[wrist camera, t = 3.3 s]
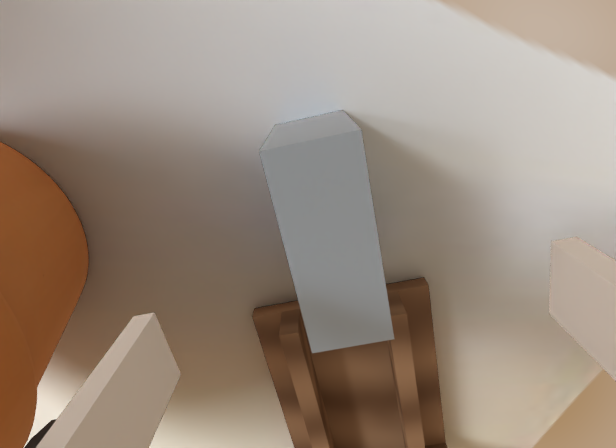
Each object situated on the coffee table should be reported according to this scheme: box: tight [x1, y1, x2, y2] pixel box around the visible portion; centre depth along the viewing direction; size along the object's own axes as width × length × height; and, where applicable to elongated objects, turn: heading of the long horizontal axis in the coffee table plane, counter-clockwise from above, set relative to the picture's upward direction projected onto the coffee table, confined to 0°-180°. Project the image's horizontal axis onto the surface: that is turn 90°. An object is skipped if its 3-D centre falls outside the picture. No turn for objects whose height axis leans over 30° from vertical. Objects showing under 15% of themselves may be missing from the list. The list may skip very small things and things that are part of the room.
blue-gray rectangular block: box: [259, 110, 394, 353], centre depth 20 cm, size 10×4×8 cm, turn 12°
